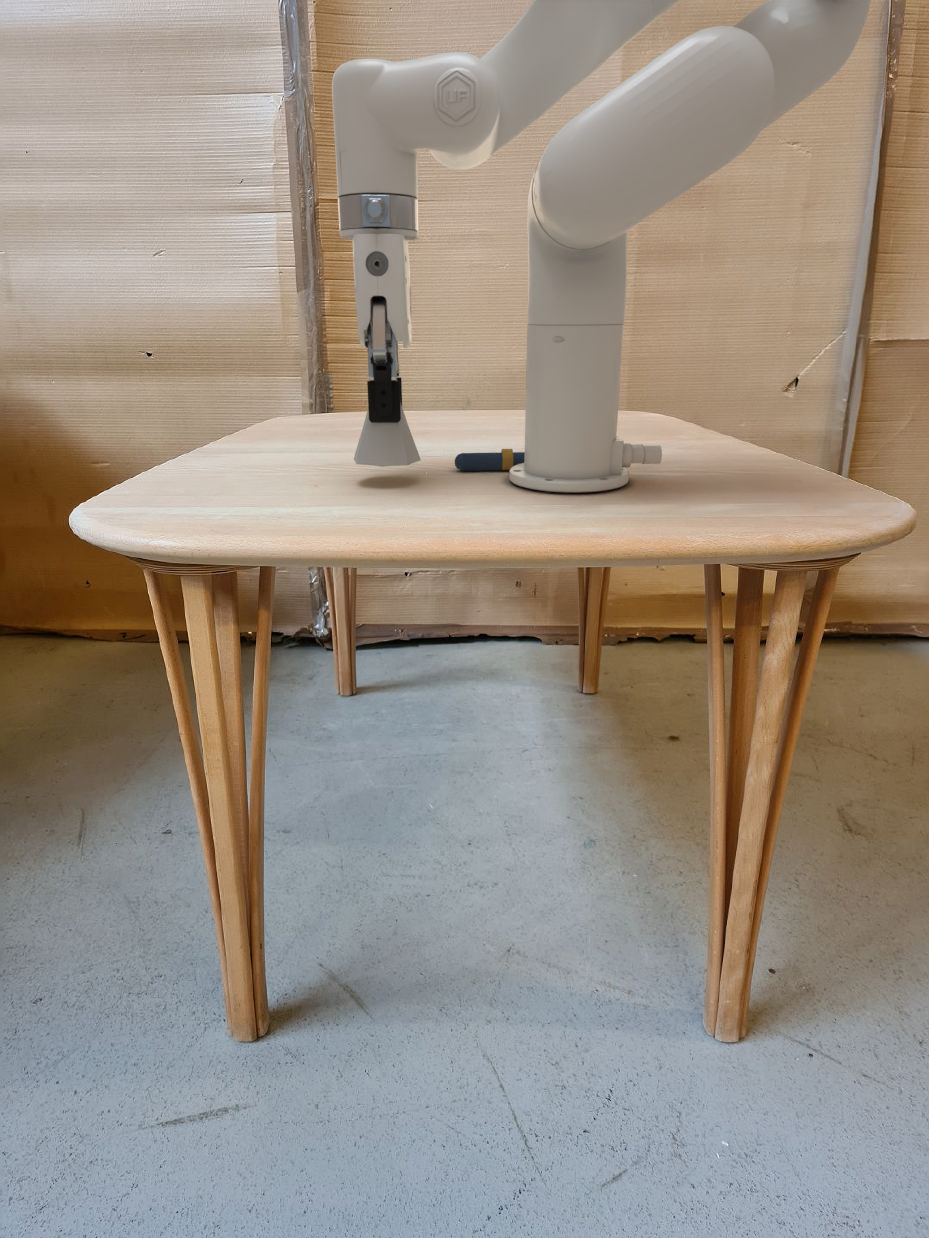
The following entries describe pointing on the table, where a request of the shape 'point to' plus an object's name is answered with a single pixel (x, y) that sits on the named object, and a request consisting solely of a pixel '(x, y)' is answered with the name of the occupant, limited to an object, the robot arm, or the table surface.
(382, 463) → the flask
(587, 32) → the robot arm
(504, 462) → the dark blue marker
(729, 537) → the table surface
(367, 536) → the table surface
